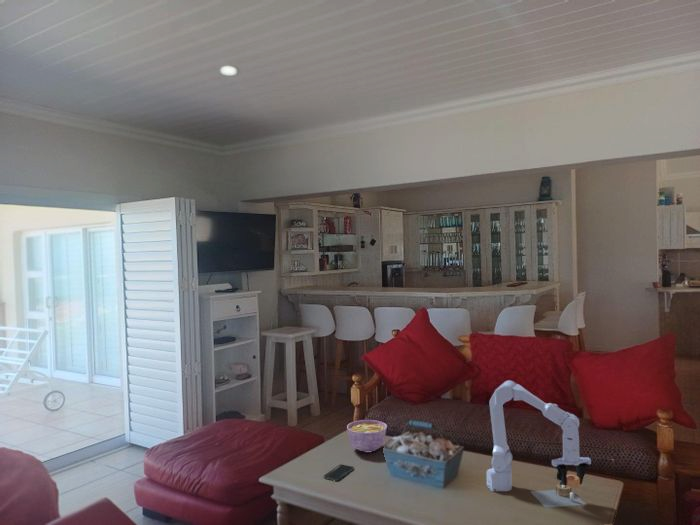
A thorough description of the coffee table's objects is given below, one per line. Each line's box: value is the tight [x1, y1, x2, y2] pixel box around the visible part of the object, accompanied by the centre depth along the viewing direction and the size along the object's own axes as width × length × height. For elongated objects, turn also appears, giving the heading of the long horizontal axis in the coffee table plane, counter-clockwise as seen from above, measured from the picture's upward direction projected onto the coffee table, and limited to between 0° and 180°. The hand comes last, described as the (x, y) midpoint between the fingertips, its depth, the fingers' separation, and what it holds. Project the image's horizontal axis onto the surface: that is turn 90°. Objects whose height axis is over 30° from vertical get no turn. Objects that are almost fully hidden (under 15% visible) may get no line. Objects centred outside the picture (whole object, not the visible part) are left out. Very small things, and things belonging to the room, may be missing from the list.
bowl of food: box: [346, 419, 388, 452], centre depth 257 cm, size 20×20×12 cm
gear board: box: [530, 485, 587, 509], centre depth 198 cm, size 16×13×4 cm
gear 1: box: [555, 480, 572, 497], centre depth 201 cm, size 6×6×4 cm
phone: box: [323, 464, 355, 482], centre depth 229 cm, size 8×1×15 cm
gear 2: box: [566, 474, 581, 489], centre depth 195 cm, size 6×6×3 cm
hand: (571, 483), depth 195 cm, fingers closed on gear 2, 5 cm apart
